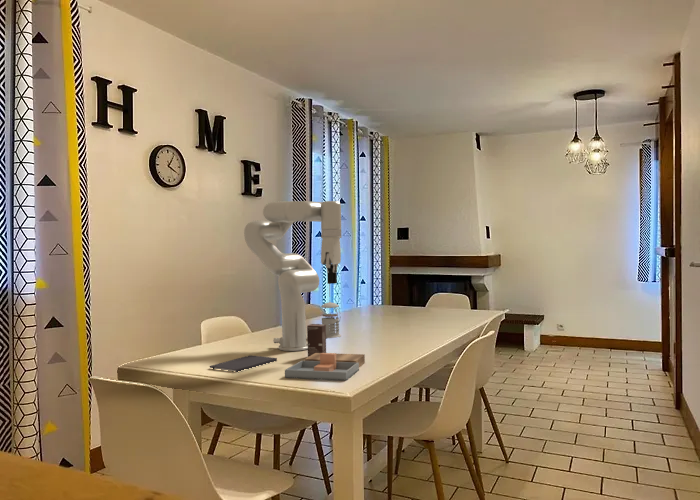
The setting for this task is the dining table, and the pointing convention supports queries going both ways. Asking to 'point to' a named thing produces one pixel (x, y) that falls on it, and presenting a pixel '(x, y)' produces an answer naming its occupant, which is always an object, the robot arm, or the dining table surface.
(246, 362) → the notebook
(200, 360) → the dining table surface
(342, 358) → the brown slab
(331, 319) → the french press
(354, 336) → the dining table surface
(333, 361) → the tile
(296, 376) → the tray
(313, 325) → the box
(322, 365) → the tile
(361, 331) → the dining table surface
